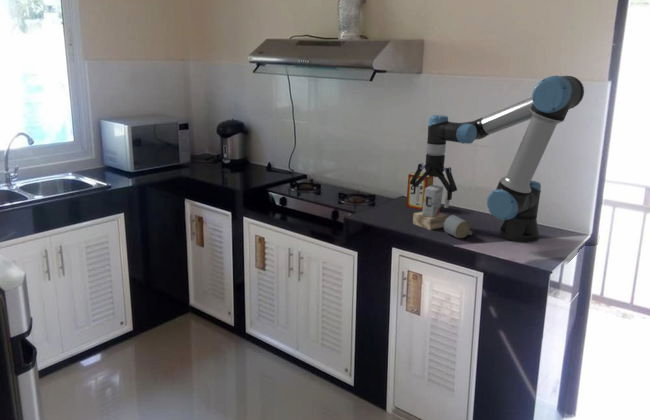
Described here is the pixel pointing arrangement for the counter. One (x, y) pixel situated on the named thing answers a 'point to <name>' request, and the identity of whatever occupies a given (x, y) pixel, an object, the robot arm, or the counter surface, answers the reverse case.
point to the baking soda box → (424, 184)
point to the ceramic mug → (457, 227)
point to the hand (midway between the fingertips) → (431, 204)
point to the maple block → (429, 220)
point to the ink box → (432, 200)
